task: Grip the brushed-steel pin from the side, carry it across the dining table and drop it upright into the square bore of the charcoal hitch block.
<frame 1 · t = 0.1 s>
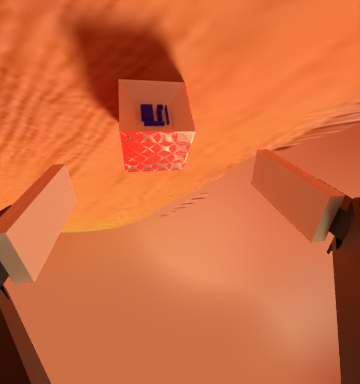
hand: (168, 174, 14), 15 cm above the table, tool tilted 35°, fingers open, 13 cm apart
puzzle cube: (151, 105, 28), on the table
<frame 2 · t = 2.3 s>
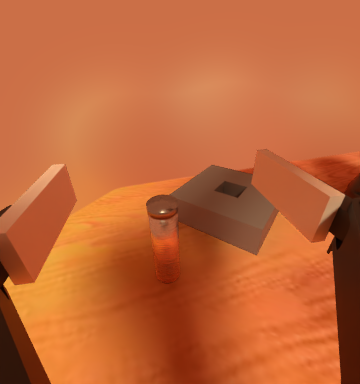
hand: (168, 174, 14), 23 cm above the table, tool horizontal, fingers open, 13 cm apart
steel pin: (167, 272, 34), on the table
hitch block: (228, 210, 49), on the table
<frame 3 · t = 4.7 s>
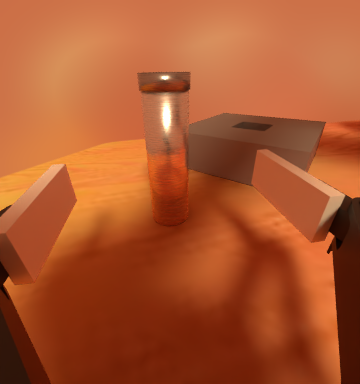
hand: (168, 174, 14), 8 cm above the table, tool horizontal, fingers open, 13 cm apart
steel pin: (170, 214, 23), on the table
hitch block: (247, 158, 38), on the table
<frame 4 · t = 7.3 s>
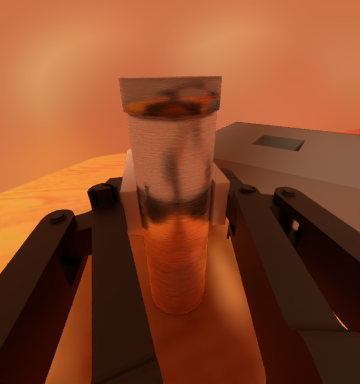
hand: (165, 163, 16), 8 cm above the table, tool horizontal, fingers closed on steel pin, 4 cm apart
steel pin: (177, 288, 15), on the table, touching gripper
hitch block: (269, 181, 30), on the table
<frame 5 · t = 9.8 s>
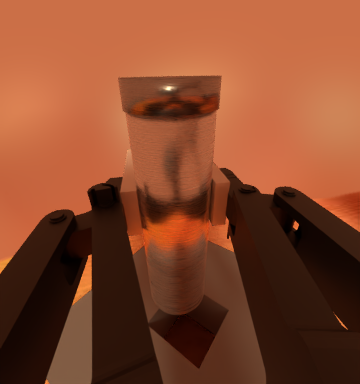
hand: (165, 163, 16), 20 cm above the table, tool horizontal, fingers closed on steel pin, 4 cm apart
steel pin: (177, 288, 15), point 12 cm above the table, touching gripper
hitch block: (188, 347, 22), on the table
when the fingers open (12 cm above the table, at t = 12.5 s): steel pin drops 4 cm, resting in hitch block.
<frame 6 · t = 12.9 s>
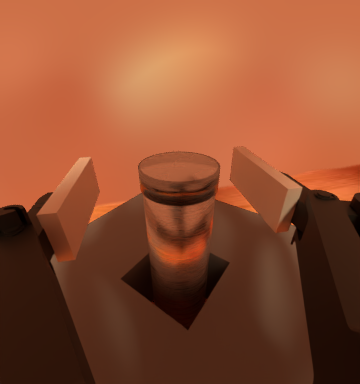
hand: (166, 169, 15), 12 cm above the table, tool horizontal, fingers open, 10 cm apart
steel pin: (179, 317, 17), resting in hitch block
hitch block: (178, 317, 17), on the table
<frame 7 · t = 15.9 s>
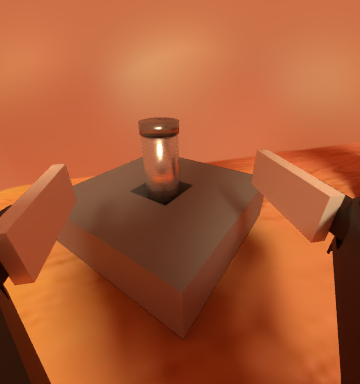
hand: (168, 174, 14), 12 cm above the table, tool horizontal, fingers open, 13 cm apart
steel pin: (165, 226, 28), resting in hitch block
hitch block: (164, 226, 28), on the table
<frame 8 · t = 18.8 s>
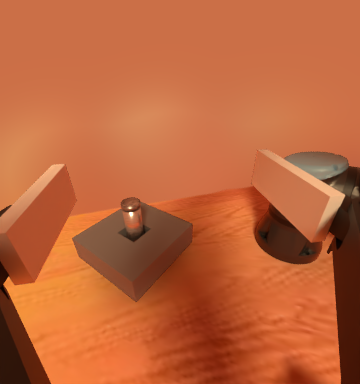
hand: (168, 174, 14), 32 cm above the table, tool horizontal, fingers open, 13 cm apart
steel pin: (137, 248, 51), resting in hitch block
hitch block: (137, 248, 51), on the table
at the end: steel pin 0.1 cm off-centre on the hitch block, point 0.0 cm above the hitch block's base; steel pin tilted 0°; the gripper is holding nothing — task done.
